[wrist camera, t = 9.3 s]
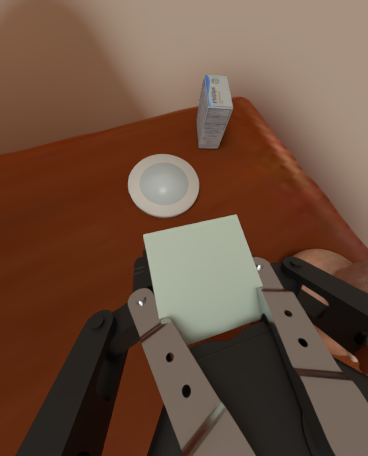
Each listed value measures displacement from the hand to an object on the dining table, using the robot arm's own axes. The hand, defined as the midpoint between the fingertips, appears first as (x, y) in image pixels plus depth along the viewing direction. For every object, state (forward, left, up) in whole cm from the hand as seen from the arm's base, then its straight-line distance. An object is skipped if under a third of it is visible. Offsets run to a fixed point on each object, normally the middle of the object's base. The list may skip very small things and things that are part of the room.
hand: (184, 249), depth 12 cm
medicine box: (+13, +25, -13) cm, 31 cm away
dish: (+1, +14, -13) cm, 19 cm away
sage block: (0, -2, -4) cm, 5 cm away
